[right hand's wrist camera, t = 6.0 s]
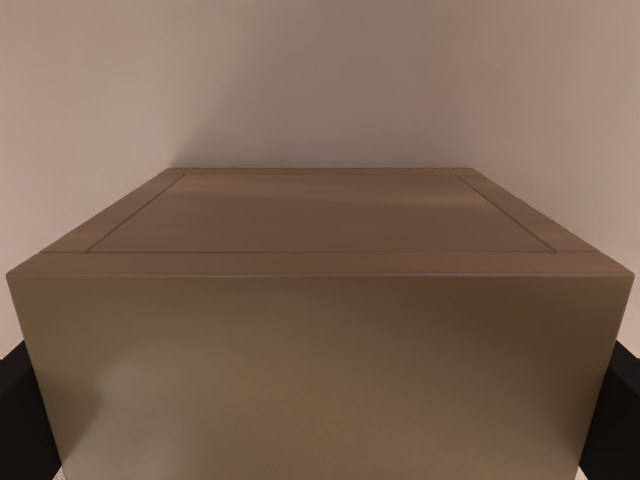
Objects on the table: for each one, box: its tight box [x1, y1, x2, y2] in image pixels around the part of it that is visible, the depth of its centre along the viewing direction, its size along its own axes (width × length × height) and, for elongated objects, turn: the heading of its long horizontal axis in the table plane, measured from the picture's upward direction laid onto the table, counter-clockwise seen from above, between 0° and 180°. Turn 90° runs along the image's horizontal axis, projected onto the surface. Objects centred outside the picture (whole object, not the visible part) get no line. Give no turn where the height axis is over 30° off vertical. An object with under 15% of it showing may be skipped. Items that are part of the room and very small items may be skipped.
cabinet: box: [6, 168, 635, 480], centre depth 15 cm, size 17×12×9 cm
